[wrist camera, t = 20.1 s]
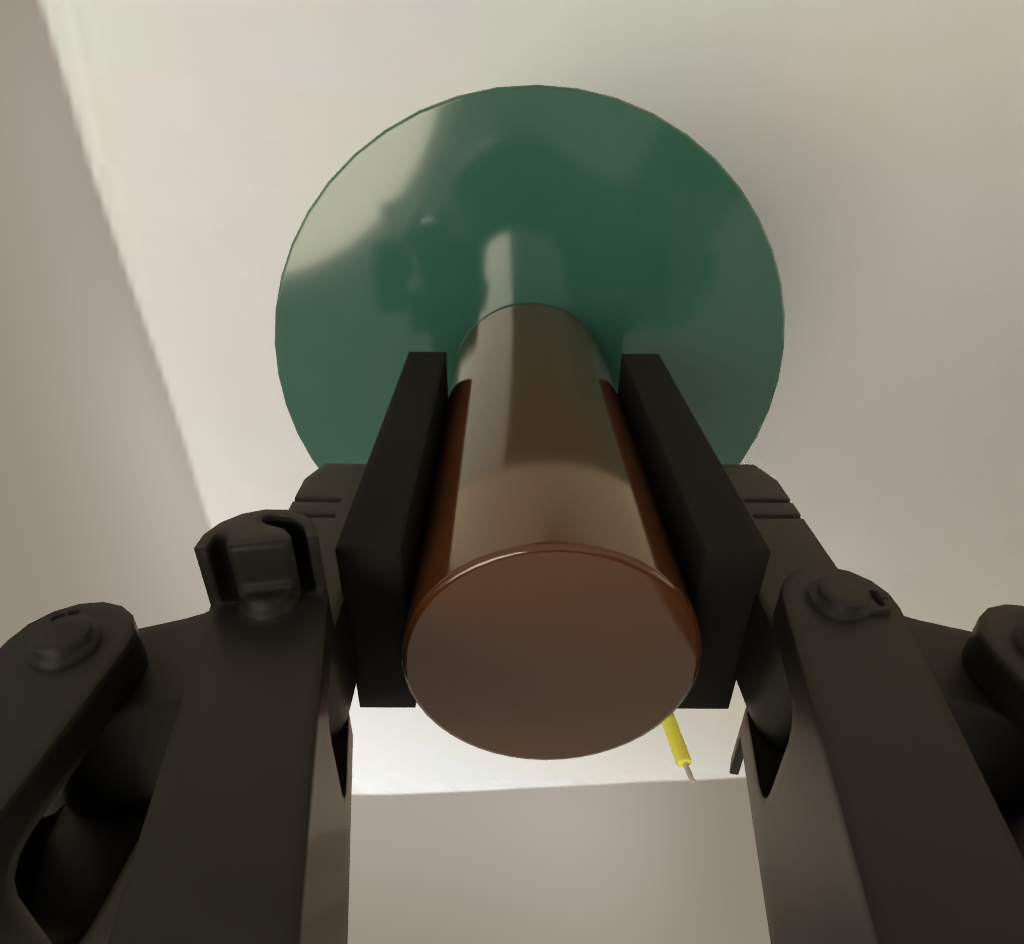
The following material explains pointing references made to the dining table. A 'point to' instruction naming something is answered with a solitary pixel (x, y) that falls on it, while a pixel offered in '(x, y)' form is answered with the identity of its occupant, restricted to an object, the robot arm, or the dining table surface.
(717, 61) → the dining table surface
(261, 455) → the dining table surface
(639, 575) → the canister lid
